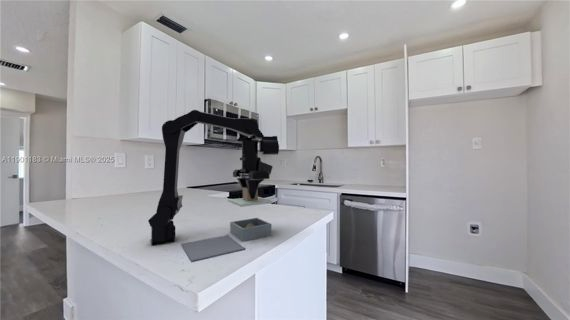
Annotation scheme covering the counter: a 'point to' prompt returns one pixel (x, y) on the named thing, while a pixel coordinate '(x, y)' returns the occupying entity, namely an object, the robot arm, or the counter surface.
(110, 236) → the counter surface
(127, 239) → the counter surface
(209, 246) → the mat
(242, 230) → the dish
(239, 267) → the counter surface
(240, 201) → the lid
